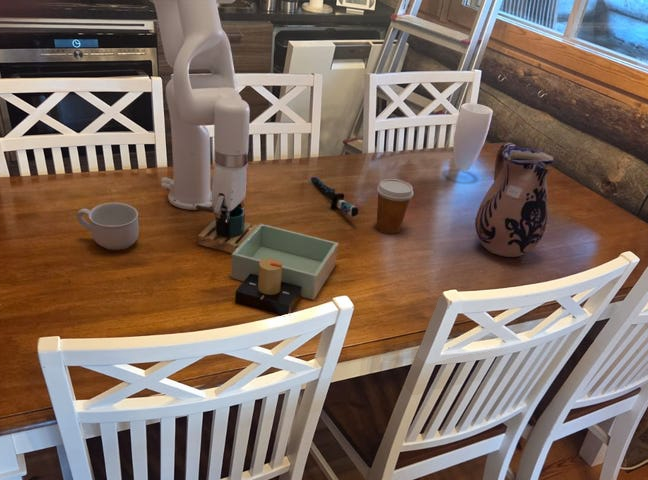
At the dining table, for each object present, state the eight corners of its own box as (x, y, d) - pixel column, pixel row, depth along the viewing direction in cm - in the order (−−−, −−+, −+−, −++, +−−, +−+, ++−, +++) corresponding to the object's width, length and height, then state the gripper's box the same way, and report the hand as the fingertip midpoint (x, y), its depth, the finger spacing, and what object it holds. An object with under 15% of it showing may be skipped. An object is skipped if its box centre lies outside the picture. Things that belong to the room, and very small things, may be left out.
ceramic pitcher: (497, 270, 157) (528, 174, 141) (447, 231, 171) (471, 140, 155) (549, 260, 164) (584, 167, 148) (497, 224, 178) (524, 135, 162)
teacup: (149, 240, 150) (147, 209, 145) (123, 260, 142) (120, 228, 137) (98, 226, 153) (94, 195, 148) (70, 245, 145) (65, 213, 140)
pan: (248, 227, 154) (249, 208, 151) (237, 239, 149) (237, 220, 146) (202, 216, 156) (202, 197, 153) (189, 227, 151) (189, 208, 148)
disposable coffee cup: (410, 226, 171) (419, 184, 163) (398, 240, 164) (407, 197, 156) (377, 216, 173) (385, 175, 166) (365, 229, 166) (372, 187, 159)
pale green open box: (231, 278, 141) (231, 254, 137) (259, 246, 154) (260, 223, 150) (313, 300, 137) (316, 276, 134) (335, 265, 150) (338, 242, 146)
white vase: (478, 184, 199) (497, 115, 186) (446, 181, 199) (462, 111, 185) (472, 171, 207) (490, 104, 194) (441, 168, 207) (457, 100, 193)
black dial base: (234, 304, 133) (234, 291, 131) (250, 283, 140) (251, 271, 138) (287, 318, 131) (288, 306, 129) (301, 297, 138) (302, 285, 136)
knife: (358, 224, 166) (360, 207, 163) (347, 224, 165) (349, 208, 162) (318, 187, 189) (319, 172, 187) (308, 187, 188) (310, 172, 186)
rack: (196, 246, 150) (195, 234, 148) (217, 225, 159) (217, 214, 158) (242, 258, 148) (243, 246, 146) (261, 236, 157) (262, 225, 155)
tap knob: (254, 291, 132) (255, 265, 128) (262, 280, 136) (264, 254, 132) (275, 297, 131) (277, 271, 127) (283, 286, 135) (285, 260, 131)
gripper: (231, 142, 148) (230, 211, 159) (198, 166, 135) (199, 241, 146) (261, 148, 147) (257, 218, 158) (230, 174, 133) (229, 248, 145)
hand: (229, 228), depth 152 cm, fingers closed on pan, 6 cm apart
